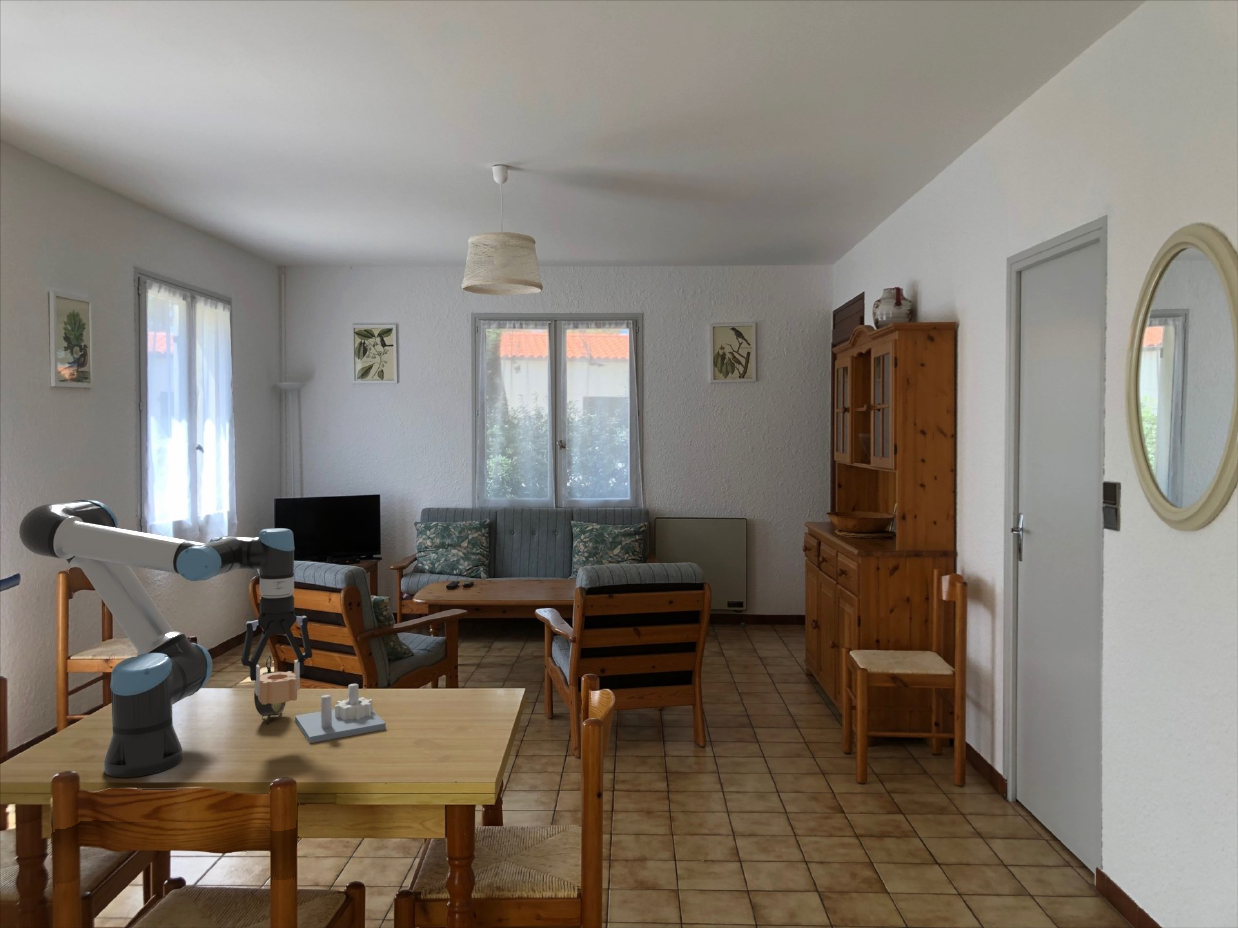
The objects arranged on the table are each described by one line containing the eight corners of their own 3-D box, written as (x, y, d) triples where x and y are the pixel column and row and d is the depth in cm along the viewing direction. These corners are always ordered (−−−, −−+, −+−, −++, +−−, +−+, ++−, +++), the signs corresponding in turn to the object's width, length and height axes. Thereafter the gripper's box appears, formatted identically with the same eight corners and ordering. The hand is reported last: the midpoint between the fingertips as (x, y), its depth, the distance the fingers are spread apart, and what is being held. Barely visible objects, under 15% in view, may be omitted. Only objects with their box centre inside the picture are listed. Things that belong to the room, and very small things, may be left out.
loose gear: (261, 705, 196) (261, 683, 196) (256, 695, 203) (256, 674, 203) (298, 700, 200) (298, 679, 200) (292, 691, 207) (292, 670, 207)
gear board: (309, 743, 202) (308, 705, 202) (295, 721, 218) (294, 686, 217) (385, 728, 211) (385, 692, 211) (366, 709, 227) (366, 675, 227)
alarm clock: (272, 725, 215) (270, 661, 214) (250, 725, 215) (249, 661, 214) (288, 711, 226) (287, 650, 225) (268, 711, 226) (266, 650, 225)
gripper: (230, 601, 192) (231, 702, 193) (326, 593, 203) (326, 688, 203) (226, 596, 198) (226, 693, 199) (319, 588, 209) (320, 680, 210)
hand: (277, 690), depth 201 cm, fingers closed on loose gear, 8 cm apart
